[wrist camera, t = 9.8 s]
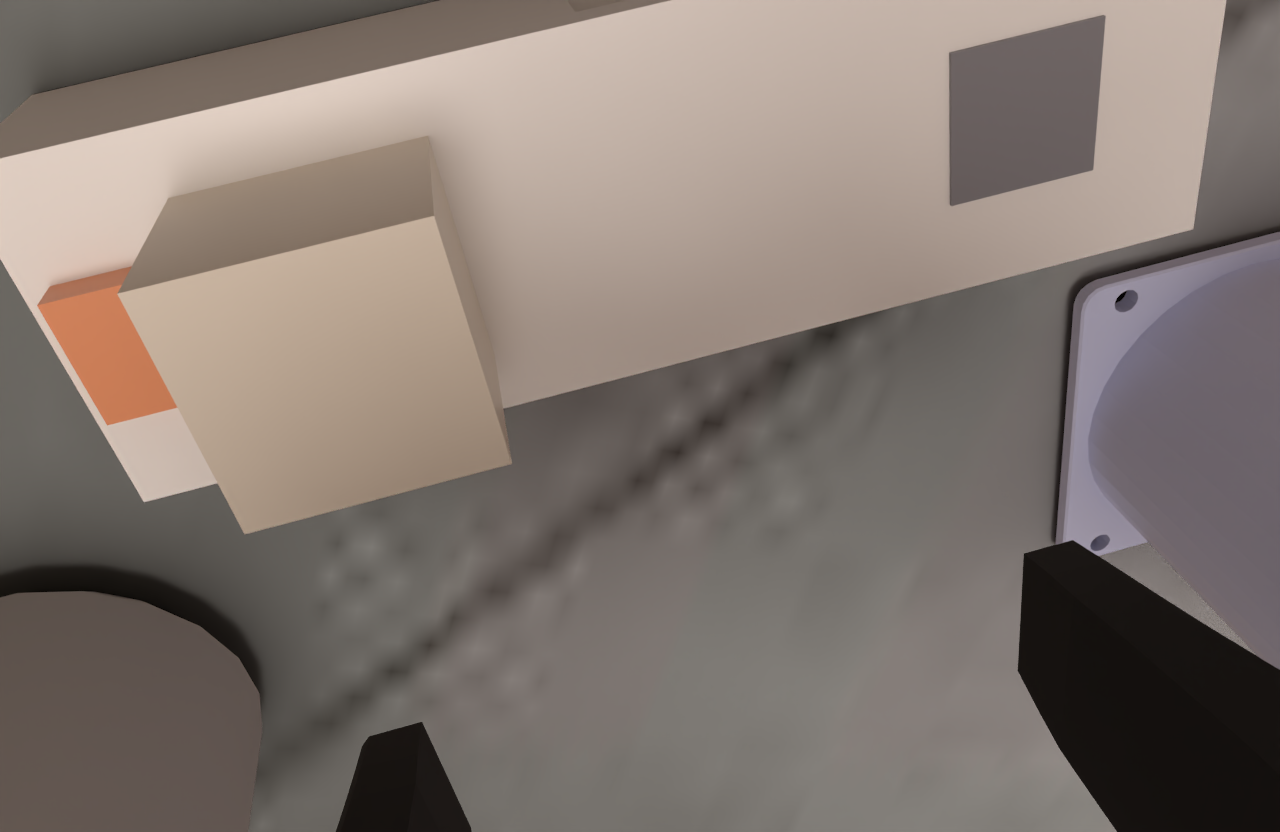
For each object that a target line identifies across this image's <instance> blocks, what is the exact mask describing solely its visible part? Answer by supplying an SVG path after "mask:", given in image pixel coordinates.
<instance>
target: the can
mask: <svg viewBox="0 0 1280 832" xmlns="http://www.w3.org/2000/svg"><path fill="white" fill-rule="evenodd" d="M261 737H262V717H261V705H260V693H259V692H258V690H257V688H256V687H255V685H254V683H253V682H252V680H251V678H250V676H249V675H248V673H247V671H246V670H245V668H244V666H243V664H242V663H241V661H240V659H239V658H238V657H237V656H236V655H235V654H233V653H232V652H231V651H230V650H229V649H227V648H226V647H225V646H224V645H222V644H221V643H220V642H219V641H218V640H216V639H215V638H214V637H213V636H211V635H210V634H209V633H208V632H207V631H205V630H204V629H203V628H202V627H200V626H198V625H196V624H194V623H191V622H189V621H187V620H185V619H182V618H180V617H178V616H176V615H173V614H171V613H169V612H166V611H164V610H162V609H160V608H157V607H155V606H153V605H150V604H148V603H146V602H144V601H141V600H136V599H131V598H126V597H120V596H115V595H110V594H104V593H99V592H94V591H91V592H86V591H71V592H34V593H16V594H12V595H8V596H4V597H0V832H248V829H249V822H250V815H251V808H252V801H253V794H254V787H255V780H256V772H257V765H258V758H259V751H260V744H261Z"/></svg>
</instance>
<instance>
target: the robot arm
mask: <svg viewBox="0 0 1280 832" xmlns="http://www.w3.org/2000/svg"><path fill="white" fill-rule="evenodd" d="M1125 291H1127V292H1126V295H1125V297H1124V298H1123V299H1122V300H1121V301H1119V302H1117V303H1115V302H1116V299H1117V298H1118V297H1119V295H1120V294H1121V293H1123V292H1125ZM1146 542H1149V543H1150V544H1151V546H1152V547H1153V548H1154V549H1155V550H1156V551H1157V552H1158V553H1159V554H1160V555H1161V556H1162V557H1163V558H1164V559H1165V560H1166V561H1167V562H1168V563H1169V564H1170V565H1171V566H1172V567H1173V568H1174V569H1175V571H1176V572H1177V573H1178V574H1179V575H1180V576H1181V577H1182V578H1183V579H1184V580H1185V581H1186V582H1187V583H1188V584H1189V585H1190V586H1191V587H1192V588H1193V589H1194V590H1195V591H1196V592H1197V593H1198V594H1199V596H1200V597H1201V598H1202V599H1203V600H1204V601H1205V602H1206V603H1207V604H1208V605H1209V606H1210V607H1211V608H1212V609H1213V610H1214V611H1215V612H1216V613H1217V614H1218V615H1219V616H1220V617H1221V618H1222V619H1223V621H1224V622H1225V623H1226V624H1227V625H1228V626H1229V627H1230V628H1231V629H1232V630H1233V631H1234V632H1235V633H1236V634H1237V635H1238V636H1239V637H1240V638H1241V639H1242V640H1243V641H1244V642H1245V643H1246V644H1247V646H1248V647H1249V648H1250V649H1251V650H1252V651H1253V652H1254V653H1255V654H1256V655H1257V656H1256V655H1254V654H1253V653H1251V652H1249V651H1248V650H1246V649H1244V648H1243V647H1241V646H1239V645H1238V644H1236V643H1234V642H1233V641H1231V640H1229V639H1228V638H1226V637H1224V636H1223V635H1221V634H1219V633H1218V632H1216V631H1215V630H1213V629H1211V628H1210V627H1208V626H1207V625H1205V624H1203V623H1202V622H1200V621H1198V620H1197V619H1195V618H1194V617H1192V616H1191V615H1189V614H1187V613H1186V612H1184V611H1183V610H1181V609H1180V608H1178V607H1176V606H1175V605H1173V604H1172V603H1170V602H1169V601H1167V600H1165V599H1164V598H1162V597H1161V596H1159V595H1158V594H1156V593H1154V592H1153V591H1151V590H1150V589H1148V588H1147V587H1145V586H1144V585H1142V584H1141V583H1139V582H1137V581H1136V580H1134V579H1133V578H1131V577H1130V576H1128V575H1127V574H1125V573H1124V572H1122V571H1120V570H1119V569H1117V568H1116V567H1114V566H1113V565H1111V564H1110V563H1108V562H1107V561H1105V560H1103V559H1102V558H1100V557H1099V556H1100V555H1104V554H1107V553H1111V552H1114V551H1118V550H1121V549H1125V548H1128V547H1132V546H1136V545H1139V544H1143V543H1146ZM1018 672H1019V674H1020V676H1021V678H1022V680H1023V682H1024V684H1025V685H1026V687H1027V689H1028V691H1029V693H1030V695H1031V697H1032V699H1033V701H1034V703H1035V705H1036V707H1037V708H1038V710H1039V712H1040V714H1041V716H1042V718H1043V720H1044V721H1045V723H1046V725H1047V727H1048V729H1049V730H1050V732H1051V734H1052V736H1053V738H1054V739H1055V741H1056V743H1057V745H1058V747H1059V748H1060V750H1061V751H1062V753H1063V754H1064V756H1065V757H1066V759H1067V760H1068V762H1069V763H1070V765H1071V766H1072V768H1073V769H1074V771H1075V772H1076V773H1077V775H1078V776H1079V778H1080V779H1081V781H1082V782H1083V783H1084V785H1085V786H1086V788H1087V789H1088V791H1089V792H1090V794H1091V795H1092V796H1093V798H1094V799H1095V801H1096V802H1097V804H1098V805H1099V806H1100V808H1101V809H1102V811H1103V812H1104V814H1105V815H1106V816H1107V818H1108V819H1109V821H1110V822H1111V824H1112V825H1113V826H1114V828H1115V829H1116V831H1117V832H1280V232H1276V233H1272V234H1269V235H1265V236H1261V237H1257V238H1253V239H1249V240H1246V241H1242V242H1238V243H1234V244H1230V245H1227V246H1223V247H1219V248H1215V249H1211V250H1207V251H1204V252H1200V253H1196V254H1192V255H1188V256H1185V257H1181V258H1177V259H1173V260H1169V261H1165V262H1162V263H1158V264H1154V265H1150V266H1146V267H1143V268H1139V269H1135V270H1131V271H1127V272H1123V273H1120V274H1116V275H1112V276H1108V277H1104V278H1101V279H1097V280H1095V281H1092V282H1090V283H1088V284H1087V285H1086V286H1085V287H1083V288H1082V289H1081V290H1080V292H1079V293H1078V295H1077V296H1076V299H1075V302H1074V307H1073V320H1072V334H1071V347H1070V360H1069V373H1068V387H1067V400H1066V413H1065V426H1064V440H1063V453H1062V466H1061V479H1060V493H1059V506H1058V519H1057V532H1056V545H1053V546H1050V547H1046V548H1043V549H1039V550H1036V551H1032V552H1028V553H1025V554H1024V564H1023V583H1022V602H1021V621H1020V641H1019V660H1018ZM336 832H471V827H470V825H469V823H468V820H467V818H466V816H465V814H464V812H463V810H462V807H461V805H460V803H459V801H458V799H457V797H456V795H455V792H454V790H453V788H452V786H451V784H450V782H449V779H448V777H447V775H446V773H445V771H444V769H443V766H442V764H441V762H440V760H439V758H438V756H437V753H436V751H435V749H434V747H433V745H432V743H431V741H430V738H429V736H428V734H427V732H426V730H425V728H424V725H423V723H422V722H420V723H416V724H413V725H409V726H405V727H402V728H398V729H395V730H391V731H387V732H384V733H380V734H377V735H373V736H370V737H368V739H367V740H366V742H365V743H364V744H363V746H362V749H361V752H360V756H359V759H358V763H357V766H356V770H355V773H354V776H353V780H352V783H351V786H350V790H349V793H348V796H347V799H346V802H345V806H344V809H343V812H342V815H341V818H340V821H339V824H338V827H337V830H336Z"/></svg>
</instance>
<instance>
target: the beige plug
mask: <svg viewBox="0 0 1280 832" xmlns="http://www.w3.org/2000/svg"><path fill="white" fill-rule="evenodd" d="M117 294H118V296H119V298H120V300H121V302H122V304H123V306H124V308H125V309H126V311H127V313H128V315H129V317H130V319H131V321H132V323H133V325H134V326H135V328H136V330H137V332H138V334H139V336H140V338H141V340H142V342H143V343H144V345H145V347H146V349H147V351H148V353H149V355H150V357H151V359H152V360H153V362H154V364H155V366H156V368H157V370H158V372H159V374H160V375H161V377H162V379H163V381H164V383H165V385H166V387H167V389H168V391H169V392H170V394H171V396H172V398H173V400H174V402H175V404H176V406H177V408H178V409H179V411H180V413H181V415H182V417H183V419H184V421H185V423H186V425H187V426H188V428H189V430H190V432H191V434H192V436H193V438H194V440H195V441H196V443H197V445H198V447H199V449H200V451H201V453H202V455H203V457H204V458H205V460H206V462H207V464H208V466H209V468H210V470H211V472H212V474H213V475H214V477H215V479H216V481H217V483H218V485H219V487H220V489H221V491H222V492H223V494H224V496H225V498H226V500H227V502H228V504H229V506H230V507H231V509H232V511H233V513H234V515H235V517H236V519H237V521H238V523H239V524H240V526H241V528H242V530H243V532H244V534H248V533H252V532H256V531H259V530H263V529H267V528H271V527H274V526H278V525H282V524H286V523H290V522H293V521H297V520H301V519H305V518H309V517H312V516H316V515H320V514H324V513H328V512H331V511H335V510H339V509H343V508H346V507H350V506H354V505H358V504H362V503H365V502H369V501H373V500H377V499H381V498H384V497H388V496H392V495H396V494H400V493H403V492H407V491H411V490H415V489H418V488H422V487H426V486H430V485H434V484H437V483H441V482H445V481H449V480H453V479H456V478H460V477H464V476H468V475H472V474H475V473H479V472H483V471H487V470H490V469H494V468H498V467H502V466H506V465H509V464H512V461H511V455H510V448H509V442H508V436H507V430H506V423H505V417H504V411H503V405H502V398H501V392H500V386H499V380H498V373H497V367H496V361H495V355H494V352H493V348H492V345H491V342H490V338H489V335H488V332H487V329H486V325H485V322H484V319H483V315H482V312H481V309H480V305H479V302H478V299H477V296H476V292H475V289H474V286H473V282H472V279H471V276H470V273H469V269H468V266H467V263H466V259H465V256H464V253H463V249H462V246H461V243H460V240H459V236H458V233H457V230H456V226H455V223H454V220H453V216H452V213H451V210H450V207H449V203H448V200H447V197H446V193H445V190H444V187H443V183H442V180H441V177H440V174H439V170H438V167H437V164H436V160H435V157H434V154H433V151H432V147H431V144H430V141H429V137H428V136H424V137H420V138H416V139H412V140H408V141H403V142H399V143H395V144H391V145H387V146H383V147H379V148H374V149H370V150H366V151H362V152H358V153H354V154H349V155H345V156H341V157H337V158H333V159H329V160H325V161H320V162H316V163H312V164H308V165H304V166H300V167H296V168H291V169H287V170H283V171H279V172H275V173H271V174H266V175H262V176H258V177H254V178H250V179H246V180H242V181H237V182H233V183H229V184H225V185H221V186H217V187H213V188H208V189H204V190H200V191H196V192H192V193H188V194H184V195H179V196H175V197H171V198H168V199H167V201H166V203H165V205H164V207H163V209H162V211H161V212H160V214H159V216H158V218H157V220H156V222H155V224H154V226H153V227H152V229H151V231H150V233H149V235H148V237H147V239H146V241H145V242H144V244H143V246H142V248H141V250H140V252H139V254H138V256H137V258H136V259H135V261H134V263H133V265H132V267H131V269H130V271H129V273H128V274H127V276H126V278H125V280H124V282H123V284H122V286H121V288H120V289H119V291H118V293H117Z"/></svg>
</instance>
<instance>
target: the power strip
mask: <svg viewBox="0 0 1280 832" xmlns="http://www.w3.org/2000/svg"><path fill="white" fill-rule="evenodd" d="M1225 6H1226V0H439V1H434V2H430V3H426V4H421V5H417V6H413V7H408V8H404V9H400V10H396V11H391V12H387V13H383V14H378V15H374V16H370V17H365V18H361V19H357V20H353V21H348V22H344V23H340V24H335V25H331V26H327V27H322V28H318V29H314V30H309V31H305V32H301V33H297V34H292V35H288V36H284V37H279V38H275V39H271V40H266V41H262V42H258V43H254V44H249V45H245V46H241V47H236V48H232V49H228V50H223V51H219V52H215V53H210V54H206V55H202V56H198V57H193V58H189V59H185V60H180V61H176V62H172V63H167V64H163V65H159V66H155V67H150V68H146V69H142V70H137V71H133V72H129V73H124V74H120V75H116V76H111V77H107V78H103V79H99V80H94V81H90V82H86V83H81V84H77V85H73V86H68V87H64V88H60V89H56V90H51V91H47V92H43V93H38V94H34V95H31V96H30V97H29V98H28V99H27V100H26V101H25V102H24V103H23V104H21V105H20V106H19V107H18V108H17V109H16V110H15V111H14V112H13V113H11V114H10V115H9V116H8V117H7V118H6V119H5V120H4V121H3V122H1V123H0V259H1V261H2V263H3V264H4V266H5V268H6V269H7V271H8V273H9V275H10V276H11V278H12V280H13V281H14V283H15V285H16V286H17V288H18V290H19V291H20V293H21V295H22V296H23V298H24V300H25V302H26V303H27V305H28V307H29V308H30V310H31V312H32V313H33V315H34V317H35V318H36V320H37V322H38V324H39V325H40V327H41V329H42V330H43V332H44V334H45V335H46V337H47V339H48V340H49V342H50V344H51V346H52V347H53V349H54V351H55V352H56V354H57V356H58V357H59V359H60V361H61V362H62V364H63V366H64V368H65V369H66V371H67V373H68V374H69V376H70V378H71V379H72V381H73V383H74V384H75V386H76V388H77V390H78V391H79V393H80V395H81V396H82V398H83V400H84V401H85V403H86V405H87V406H88V408H89V410H90V412H91V413H92V415H93V417H94V418H95V420H96V422H97V423H98V425H99V427H100V428H101V430H102V432H103V433H104V435H105V437H106V439H107V440H108V442H109V444H110V445H111V447H112V449H113V450H114V452H115V454H116V455H117V457H118V459H119V461H120V462H121V464H122V466H123V467H124V469H125V471H126V472H127V474H128V476H129V477H130V479H131V481H132V483H133V484H134V486H135V488H136V489H137V491H138V493H139V494H140V496H141V498H142V499H143V501H144V502H147V501H151V500H155V499H158V498H162V497H166V496H170V495H174V494H178V493H182V492H185V491H189V490H193V489H197V488H201V487H205V486H208V485H212V484H216V483H217V481H216V479H215V477H214V475H213V474H212V472H211V470H210V468H209V466H208V464H207V462H206V460H205V458H204V457H203V455H202V453H201V451H200V449H199V447H198V445H197V443H196V441H195V440H194V438H193V436H192V434H191V432H190V430H189V428H188V426H187V425H186V423H185V421H184V419H183V417H182V415H181V413H180V411H179V409H178V408H177V406H176V404H175V402H174V400H173V398H172V396H171V394H170V392H169V391H168V389H167V387H166V385H165V383H164V381H163V379H162V377H161V375H160V374H159V372H158V370H157V368H156V366H155V364H154V362H153V360H152V359H151V357H150V355H149V353H148V351H147V349H146V347H145V345H144V343H143V342H142V340H141V338H140V336H139V334H138V332H137V330H136V328H135V326H134V325H133V323H132V321H131V319H130V317H129V315H128V313H127V311H126V309H125V308H124V306H123V304H122V302H121V300H120V298H119V296H118V294H117V293H118V291H119V289H120V288H121V286H122V284H123V282H124V280H125V278H126V276H127V274H128V273H129V271H130V269H131V267H132V265H133V263H134V261H135V259H136V258H137V256H138V254H139V252H140V250H141V248H142V246H143V244H144V242H145V241H146V239H147V237H148V235H149V233H150V231H151V229H152V227H153V226H154V224H155V222H156V220H157V218H158V216H159V214H160V212H161V211H162V209H163V207H164V205H165V203H166V201H167V199H168V198H171V197H175V196H179V195H184V194H188V193H192V192H196V191H200V190H204V189H208V188H213V187H217V186H221V185H225V184H229V183H233V182H237V181H242V180H246V179H250V178H254V177H258V176H262V175H266V174H271V173H275V172H279V171H283V170H287V169H291V168H296V167H300V166H304V165H308V164H312V163H316V162H320V161H325V160H329V159H333V158H337V157H341V156H345V155H349V154H354V153H358V152H362V151H366V150H370V149H374V148H379V147H383V146H387V145H391V144H395V143H399V142H403V141H408V140H412V139H416V138H420V137H424V136H428V137H429V141H430V144H431V147H432V151H433V154H434V157H435V160H436V164H437V167H438V170H439V174H440V177H441V180H442V183H443V187H444V190H445V193H446V197H447V200H448V203H449V207H450V210H451V213H452V216H453V220H454V223H455V226H456V230H457V233H458V236H459V240H460V243H461V246H462V249H463V253H464V256H465V259H466V263H467V266H468V269H469V273H470V276H471V279H472V282H473V286H474V289H475V292H476V296H477V299H478V302H479V305H480V309H481V312H482V315H483V319H484V322H485V325H486V329H487V332H488V335H489V338H490V342H491V345H492V348H493V352H494V355H495V361H496V367H497V373H498V380H499V386H500V392H501V398H502V405H503V409H504V408H508V407H512V406H516V405H520V404H524V403H527V402H531V401H535V400H539V399H543V398H547V397H551V396H554V395H558V394H562V393H566V392H570V391H574V390H577V389H581V388H585V387H589V386H593V385H597V384H601V383H604V382H608V381H612V380H616V379H620V378H624V377H627V376H631V375H635V374H639V373H643V372H647V371H650V370H654V369H658V368H662V367H666V366H670V365H674V364H677V363H681V362H685V361H689V360H693V359H697V358H700V357H704V356H708V355H712V354H716V353H720V352H724V351H727V350H731V349H735V348H739V347H743V346H747V345H750V344H754V343H758V342H762V341H766V340H770V339H773V338H777V337H781V336H785V335H789V334H793V333H797V332H800V331H804V330H808V329H812V328H816V327H820V326H823V325H827V324H831V323H835V322H839V321H843V320H847V319H850V318H854V317H858V316H862V315H866V314H870V313H873V312H877V311H881V310H885V309H889V308H893V307H896V306H900V305H904V304H908V303H912V302H916V301H920V300H923V299H927V298H931V297H935V296H939V295H943V294H946V293H950V292H954V291H958V290H962V289H966V288H970V287H973V286H977V285H981V284H985V283H989V282H993V281H996V280H1000V279H1004V278H1008V277H1012V276H1016V275H1019V274H1023V273H1027V272H1031V271H1035V270H1039V269H1043V268H1046V267H1050V266H1054V265H1058V264H1062V263H1066V262H1069V261H1073V260H1077V259H1081V258H1085V257H1089V256H1093V255H1096V254H1100V253H1104V252H1108V251H1112V250H1116V249H1119V248H1123V247H1127V246H1131V245H1135V244H1139V243H1142V242H1146V241H1150V240H1154V239H1158V238H1162V237H1166V236H1169V235H1173V234H1177V233H1181V232H1185V231H1189V230H1192V229H1193V227H1194V220H1195V213H1196V206H1197V200H1198V193H1199V186H1200V179H1201V172H1202V165H1203V158H1204V151H1205V144H1206V137H1207V130H1208V123H1209V117H1210V110H1211V103H1212V96H1213V89H1214V82H1215V75H1216V68H1217V61H1218V54H1219V47H1220V41H1221V34H1222V27H1223V20H1224V13H1225Z"/></svg>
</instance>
